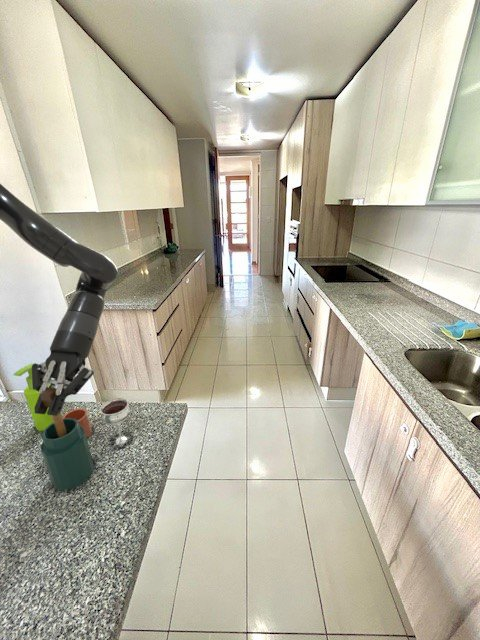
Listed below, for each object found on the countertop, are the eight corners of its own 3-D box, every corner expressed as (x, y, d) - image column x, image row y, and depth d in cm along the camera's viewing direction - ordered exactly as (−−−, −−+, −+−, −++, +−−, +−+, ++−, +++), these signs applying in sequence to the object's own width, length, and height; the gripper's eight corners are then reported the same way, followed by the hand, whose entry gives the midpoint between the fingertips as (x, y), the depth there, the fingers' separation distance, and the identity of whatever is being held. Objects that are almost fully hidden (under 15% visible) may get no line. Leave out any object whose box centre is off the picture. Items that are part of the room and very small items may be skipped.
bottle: (44, 488, 58) (26, 441, 53) (71, 458, 66) (58, 413, 61) (77, 494, 57) (63, 445, 52) (101, 462, 65) (90, 417, 60)
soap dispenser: (27, 432, 73) (5, 372, 66) (49, 416, 80) (32, 359, 72) (44, 436, 72) (24, 375, 65) (65, 419, 78) (48, 361, 71)
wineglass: (102, 443, 70) (94, 407, 66) (125, 428, 75) (119, 394, 71) (116, 456, 66) (108, 419, 62) (139, 439, 72) (133, 404, 67)
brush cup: (62, 442, 70) (56, 422, 68) (77, 427, 76) (72, 407, 73) (82, 445, 69) (76, 424, 67) (96, 429, 75) (91, 409, 72)
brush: (61, 467, 59) (37, 394, 52) (70, 456, 62) (48, 386, 54) (72, 468, 59) (49, 396, 52) (80, 458, 61) (60, 387, 54)
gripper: (36, 326, 57) (-2, 409, 50) (94, 330, 55) (63, 416, 48) (60, 338, 64) (30, 412, 57) (113, 342, 62) (88, 419, 55)
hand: (46, 414), depth 53 cm, fingers closed on brush, 2 cm apart
